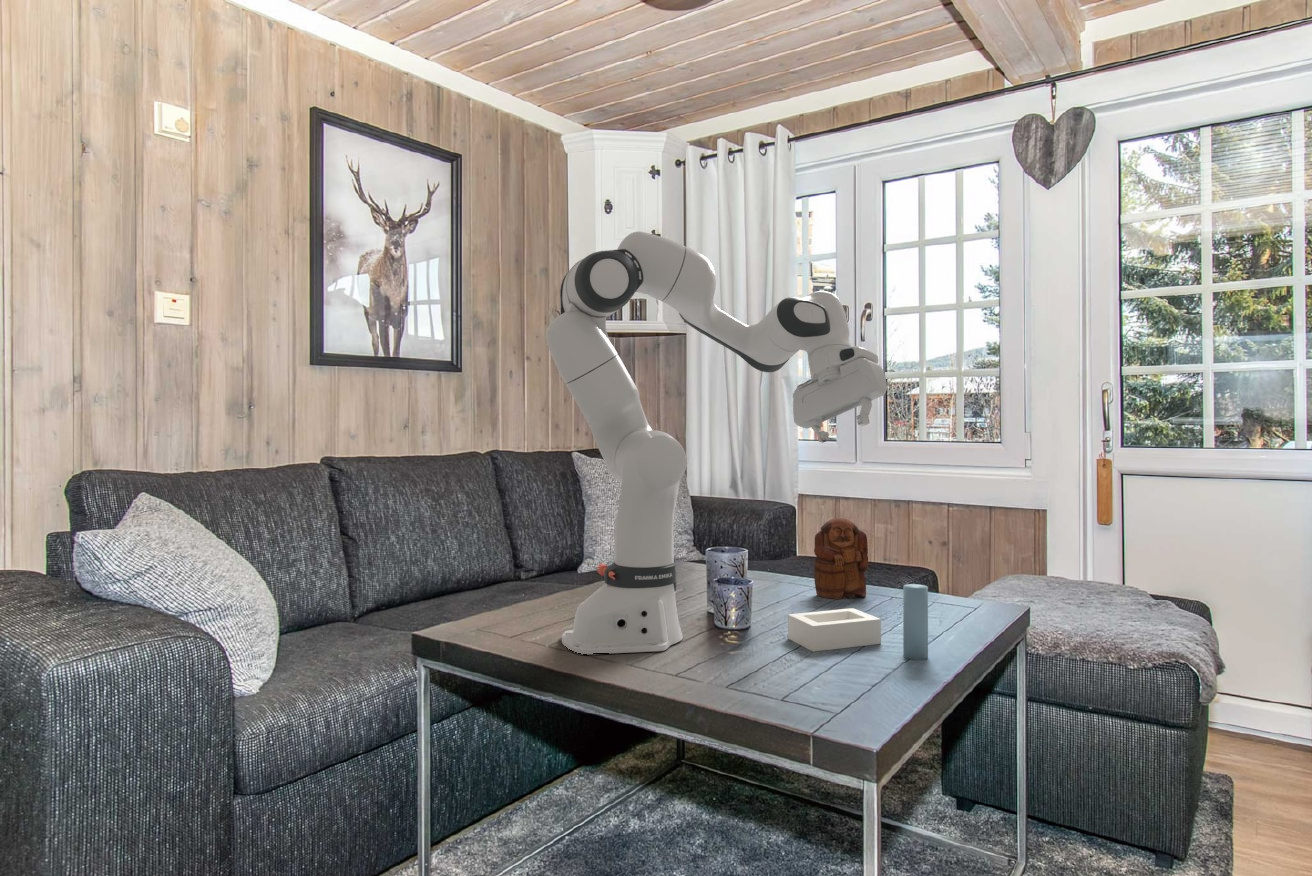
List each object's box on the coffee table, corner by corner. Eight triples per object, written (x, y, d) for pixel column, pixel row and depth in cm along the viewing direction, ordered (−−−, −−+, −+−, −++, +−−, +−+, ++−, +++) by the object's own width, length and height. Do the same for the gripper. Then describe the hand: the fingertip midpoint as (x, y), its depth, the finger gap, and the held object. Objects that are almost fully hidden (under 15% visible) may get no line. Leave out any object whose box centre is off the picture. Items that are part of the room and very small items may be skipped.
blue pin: (913, 660, 132) (913, 589, 132) (898, 654, 136) (898, 585, 136) (933, 658, 133) (932, 587, 133) (917, 651, 137) (917, 583, 137)
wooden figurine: (821, 600, 178) (821, 520, 177) (812, 594, 184) (812, 517, 184) (871, 598, 179) (871, 519, 179) (860, 592, 186) (860, 516, 185)
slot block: (813, 651, 138) (813, 625, 138) (788, 638, 146) (788, 614, 146) (881, 643, 142) (880, 618, 142) (852, 631, 151) (852, 608, 151)
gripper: (782, 384, 160) (791, 447, 155) (865, 343, 146) (877, 410, 141) (802, 392, 164) (811, 453, 159) (884, 352, 150) (898, 418, 145)
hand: (843, 433), depth 150 cm, fingers open, 8 cm apart
